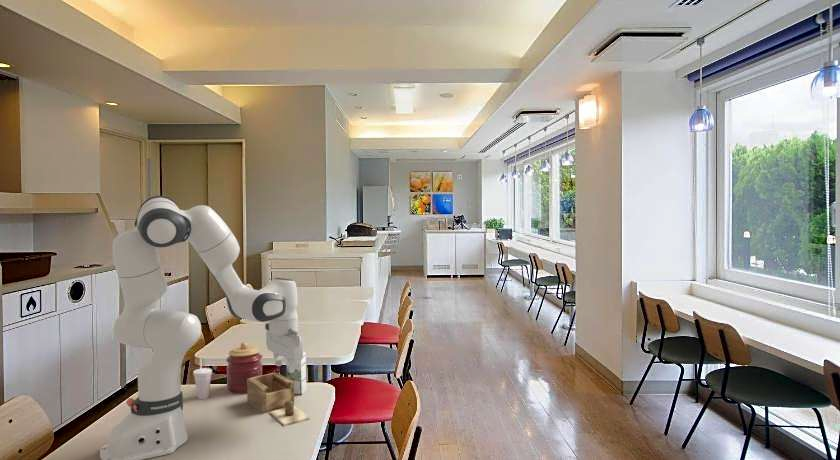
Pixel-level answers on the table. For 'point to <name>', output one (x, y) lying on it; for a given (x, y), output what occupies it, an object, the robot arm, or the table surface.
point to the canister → (242, 367)
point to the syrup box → (298, 375)
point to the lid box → (269, 391)
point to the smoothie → (202, 381)
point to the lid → (289, 414)
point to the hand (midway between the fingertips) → (284, 368)
